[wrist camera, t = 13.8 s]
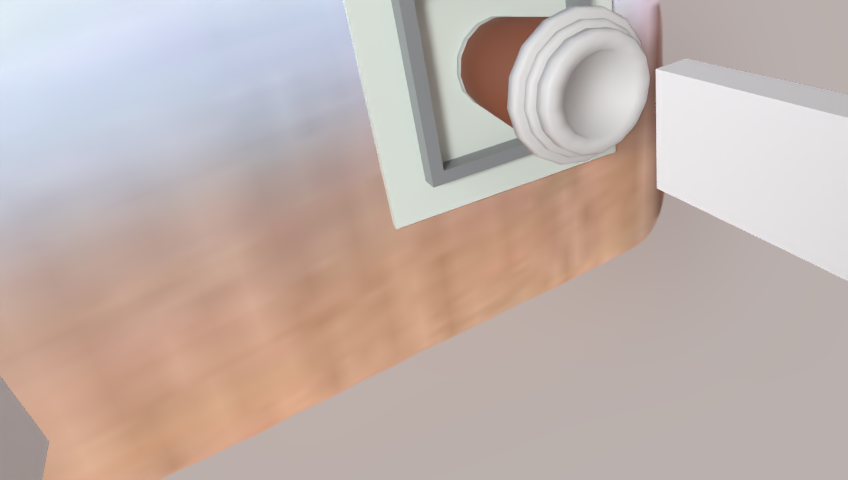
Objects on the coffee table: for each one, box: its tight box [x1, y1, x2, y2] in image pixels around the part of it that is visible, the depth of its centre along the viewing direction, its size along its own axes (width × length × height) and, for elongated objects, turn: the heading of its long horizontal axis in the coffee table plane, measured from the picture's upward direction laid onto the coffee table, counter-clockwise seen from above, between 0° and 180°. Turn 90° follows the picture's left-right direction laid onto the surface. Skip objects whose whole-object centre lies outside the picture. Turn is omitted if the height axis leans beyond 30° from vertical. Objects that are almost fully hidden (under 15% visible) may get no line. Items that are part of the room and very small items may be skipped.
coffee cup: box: [457, 6, 650, 165], centre depth 39 cm, size 9×9×12 cm
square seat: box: [342, 0, 616, 229], centre depth 44 cm, size 20×20×2 cm
